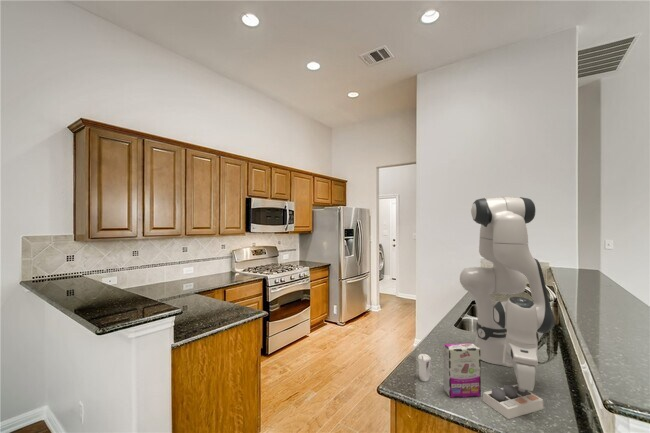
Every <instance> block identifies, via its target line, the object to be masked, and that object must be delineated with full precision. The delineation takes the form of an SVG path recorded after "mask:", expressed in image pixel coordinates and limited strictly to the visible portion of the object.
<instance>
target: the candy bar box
mask: <svg viewBox="0 0 650 433" xmlns="http://www.w3.org/2000/svg"><path fill="white" fill-rule="evenodd" d="M442 349H443V350H442V351H443V391H444V392H445V393H446V395H447V396H448V397H449V399H450V398H452V399H453V398H454V399H456V398H474V397H481V395H482V393H481V391H482V384H481V381H482V379H481V377H482V374H481V367H482V366H481V360H480V348H479V347H477V346H476V345H475V343H473V342H471V343H470V342H468V343H443V348H442Z"/></svg>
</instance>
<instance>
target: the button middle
mask: <svg viewBox="0 0 650 433" xmlns="http://www.w3.org/2000/svg"><path fill="white" fill-rule="evenodd" d="M502 388H503V390H504V391H505V396H507V397H508V398H510V399H515V398H517V389H516V388H515V387H513V386H512V385H510V384H503V386H502Z"/></svg>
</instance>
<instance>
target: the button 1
mask: <svg viewBox="0 0 650 433" xmlns="http://www.w3.org/2000/svg"><path fill="white" fill-rule="evenodd" d="M491 390H492V398H493V399H495V400H496V401H498V402H503V401H505V391H504V390H502V389H500V387H492V388H491Z"/></svg>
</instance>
